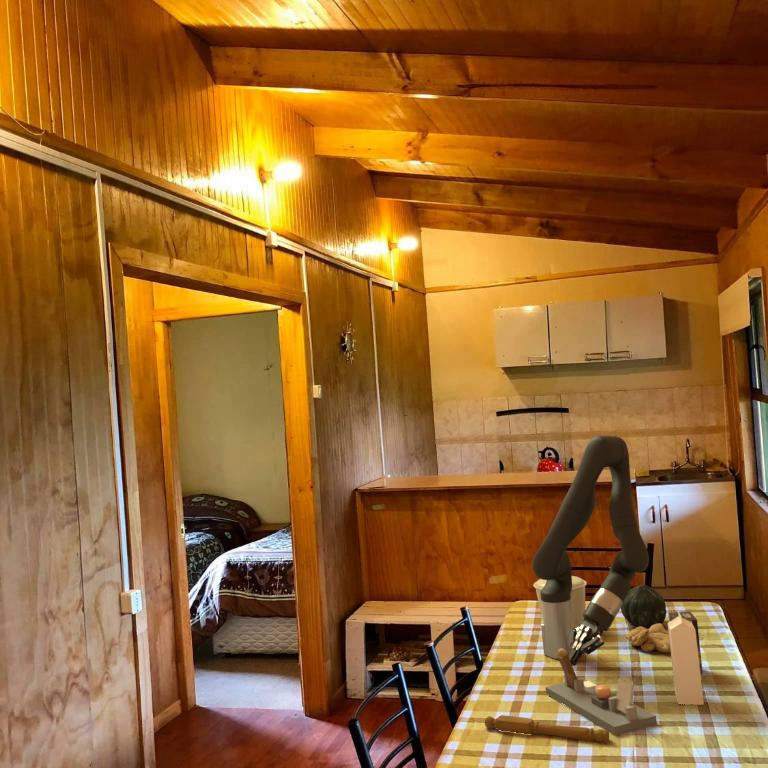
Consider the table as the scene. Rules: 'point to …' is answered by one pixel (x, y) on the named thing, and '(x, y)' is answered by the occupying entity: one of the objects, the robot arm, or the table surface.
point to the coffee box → (693, 620)
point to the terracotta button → (603, 691)
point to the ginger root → (650, 638)
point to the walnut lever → (567, 666)
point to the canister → (576, 598)
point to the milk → (685, 662)
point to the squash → (644, 607)
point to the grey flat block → (624, 695)
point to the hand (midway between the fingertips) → (570, 663)
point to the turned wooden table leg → (545, 728)
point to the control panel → (597, 713)
